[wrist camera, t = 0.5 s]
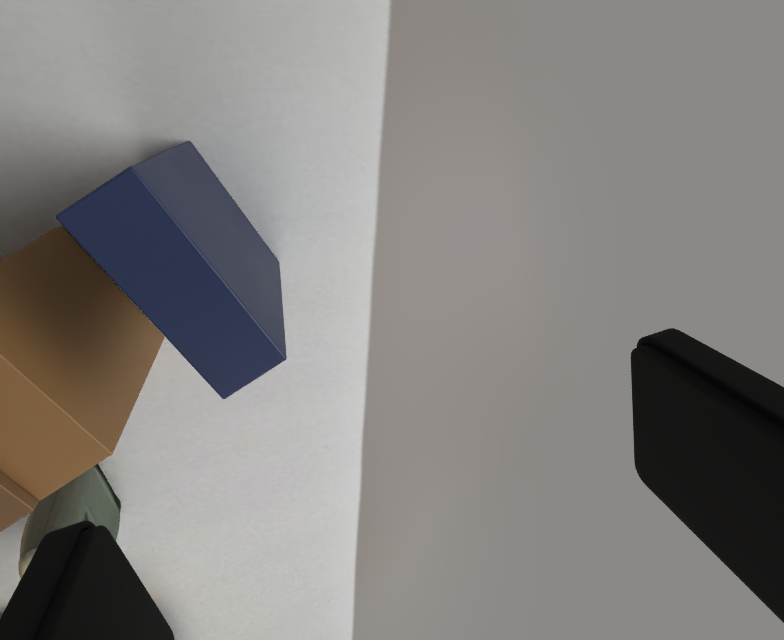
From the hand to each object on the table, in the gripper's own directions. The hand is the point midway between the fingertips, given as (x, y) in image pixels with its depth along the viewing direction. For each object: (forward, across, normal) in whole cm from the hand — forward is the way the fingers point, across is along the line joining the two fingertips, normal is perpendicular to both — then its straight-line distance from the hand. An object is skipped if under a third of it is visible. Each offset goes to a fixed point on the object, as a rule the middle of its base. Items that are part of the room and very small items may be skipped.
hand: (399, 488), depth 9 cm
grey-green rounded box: (+24, +18, +13) cm, 32 cm away
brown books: (+23, +15, +2) cm, 28 cm away
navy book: (+23, +5, -2) cm, 24 cm away
